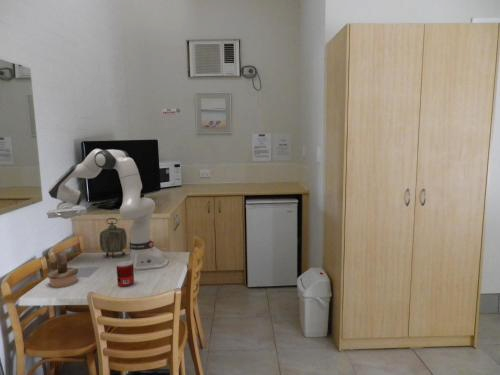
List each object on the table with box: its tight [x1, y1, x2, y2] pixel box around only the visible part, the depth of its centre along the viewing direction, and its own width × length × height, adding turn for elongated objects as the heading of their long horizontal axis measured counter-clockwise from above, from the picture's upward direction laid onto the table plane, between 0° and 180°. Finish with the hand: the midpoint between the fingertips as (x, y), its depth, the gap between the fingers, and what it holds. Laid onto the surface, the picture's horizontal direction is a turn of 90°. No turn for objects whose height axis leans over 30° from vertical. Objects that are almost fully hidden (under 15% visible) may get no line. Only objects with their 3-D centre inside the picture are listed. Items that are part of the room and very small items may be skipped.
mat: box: [76, 266, 100, 278], centre depth 201 cm, size 16×16×1 cm
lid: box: [46, 251, 78, 280], centre depth 185 cm, size 14×14×11 cm
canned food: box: [116, 260, 135, 288], centre depth 182 cm, size 8×8×11 cm
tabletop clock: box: [99, 217, 128, 258], centre depth 228 cm, size 14×9×25 cm, turn 91°
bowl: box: [49, 274, 78, 288], centre depth 185 cm, size 12×12×5 cm
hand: (68, 214), depth 203 cm, fingers open, 8 cm apart
